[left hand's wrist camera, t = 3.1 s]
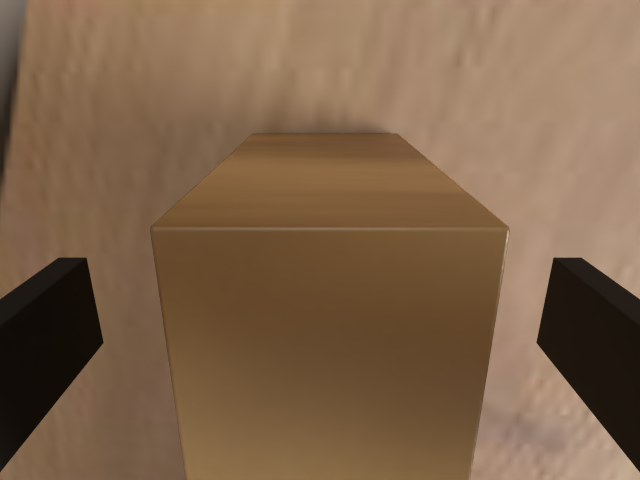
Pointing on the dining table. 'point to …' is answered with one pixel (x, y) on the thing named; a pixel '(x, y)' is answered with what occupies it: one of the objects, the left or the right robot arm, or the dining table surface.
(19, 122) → the dining table surface
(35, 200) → the dining table surface
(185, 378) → the bar
